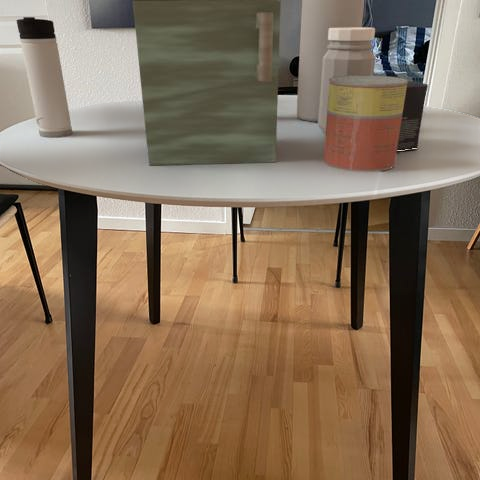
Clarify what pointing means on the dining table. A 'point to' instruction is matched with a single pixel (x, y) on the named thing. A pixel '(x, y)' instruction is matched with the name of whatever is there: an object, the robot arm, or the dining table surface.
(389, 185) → the dining table surface
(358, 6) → the cylinder vase
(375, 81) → the canned food
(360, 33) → the jar
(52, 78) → the travel mug
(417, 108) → the small box
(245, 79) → the door
